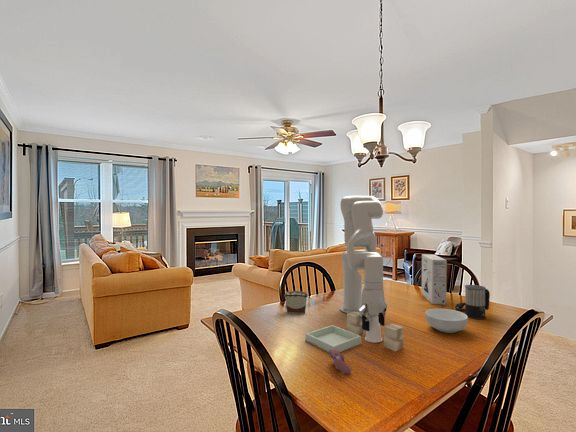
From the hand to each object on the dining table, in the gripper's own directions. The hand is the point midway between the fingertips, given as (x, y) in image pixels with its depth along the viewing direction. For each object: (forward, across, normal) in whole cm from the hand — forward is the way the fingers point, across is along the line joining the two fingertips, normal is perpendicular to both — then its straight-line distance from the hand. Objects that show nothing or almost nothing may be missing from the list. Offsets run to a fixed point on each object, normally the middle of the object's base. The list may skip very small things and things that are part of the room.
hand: (373, 327), depth 130 cm
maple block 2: (+5, 0, +9) cm, 10 cm away
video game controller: (+6, +28, +7) cm, 29 cm away
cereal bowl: (+5, -34, +13) cm, 37 cm away
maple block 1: (+5, 0, -10) cm, 11 cm away
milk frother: (+5, -65, +9) cm, 66 cm away
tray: (+5, +15, -8) cm, 18 cm away
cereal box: (+4, -76, -15) cm, 78 cm away
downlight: (+5, 0, 0) cm, 5 cm away
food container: (+5, +2, -47) cm, 48 cm away
